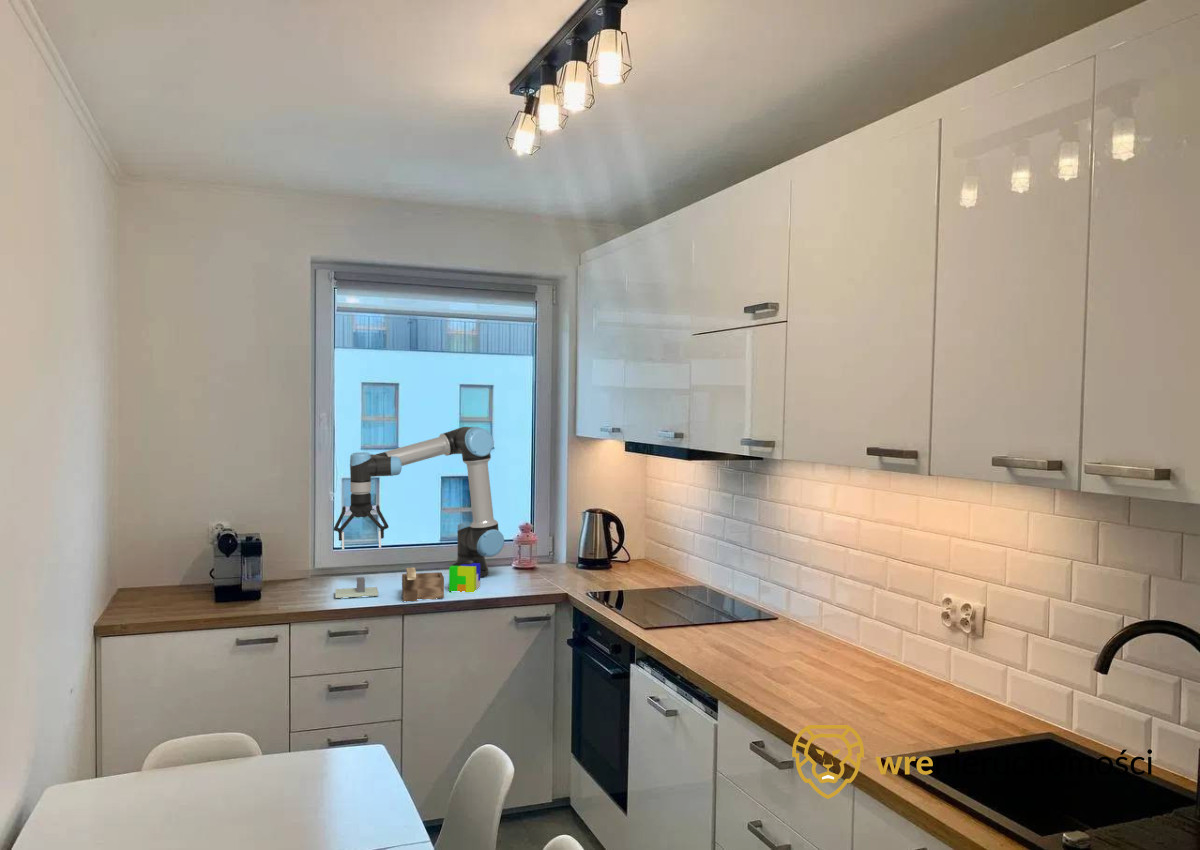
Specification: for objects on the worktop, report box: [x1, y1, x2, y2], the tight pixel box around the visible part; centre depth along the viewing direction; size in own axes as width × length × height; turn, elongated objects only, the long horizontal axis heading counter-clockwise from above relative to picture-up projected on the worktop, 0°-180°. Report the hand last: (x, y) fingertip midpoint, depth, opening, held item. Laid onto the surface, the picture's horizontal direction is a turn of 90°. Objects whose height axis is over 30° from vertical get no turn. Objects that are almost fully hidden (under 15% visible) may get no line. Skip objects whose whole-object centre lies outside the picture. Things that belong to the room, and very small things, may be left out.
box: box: [401, 572, 445, 602], centre depth 327 cm, size 15×13×9 cm
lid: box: [334, 576, 379, 599], centre depth 329 cm, size 16×10×7 cm
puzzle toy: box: [448, 562, 481, 592], centre depth 340 cm, size 10×10×10 cm
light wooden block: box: [405, 567, 417, 580], centre depth 316 cm, size 3×8×3 cm, turn 16°
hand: (361, 548), depth 329 cm, fingers open, 13 cm apart
